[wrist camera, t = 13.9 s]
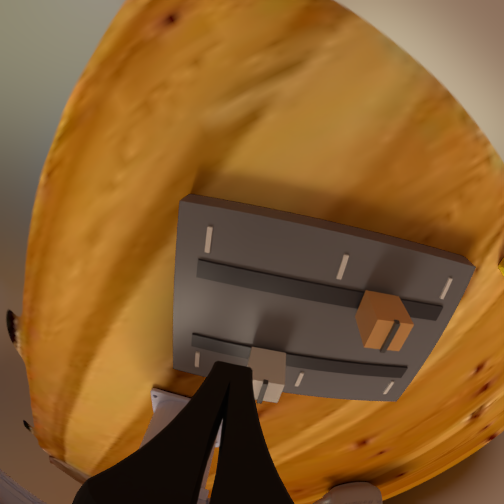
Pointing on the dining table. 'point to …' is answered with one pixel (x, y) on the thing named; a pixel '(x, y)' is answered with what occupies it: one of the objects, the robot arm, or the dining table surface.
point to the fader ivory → (267, 373)
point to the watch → (501, 266)
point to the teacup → (352, 494)
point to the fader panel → (304, 297)
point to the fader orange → (383, 321)
